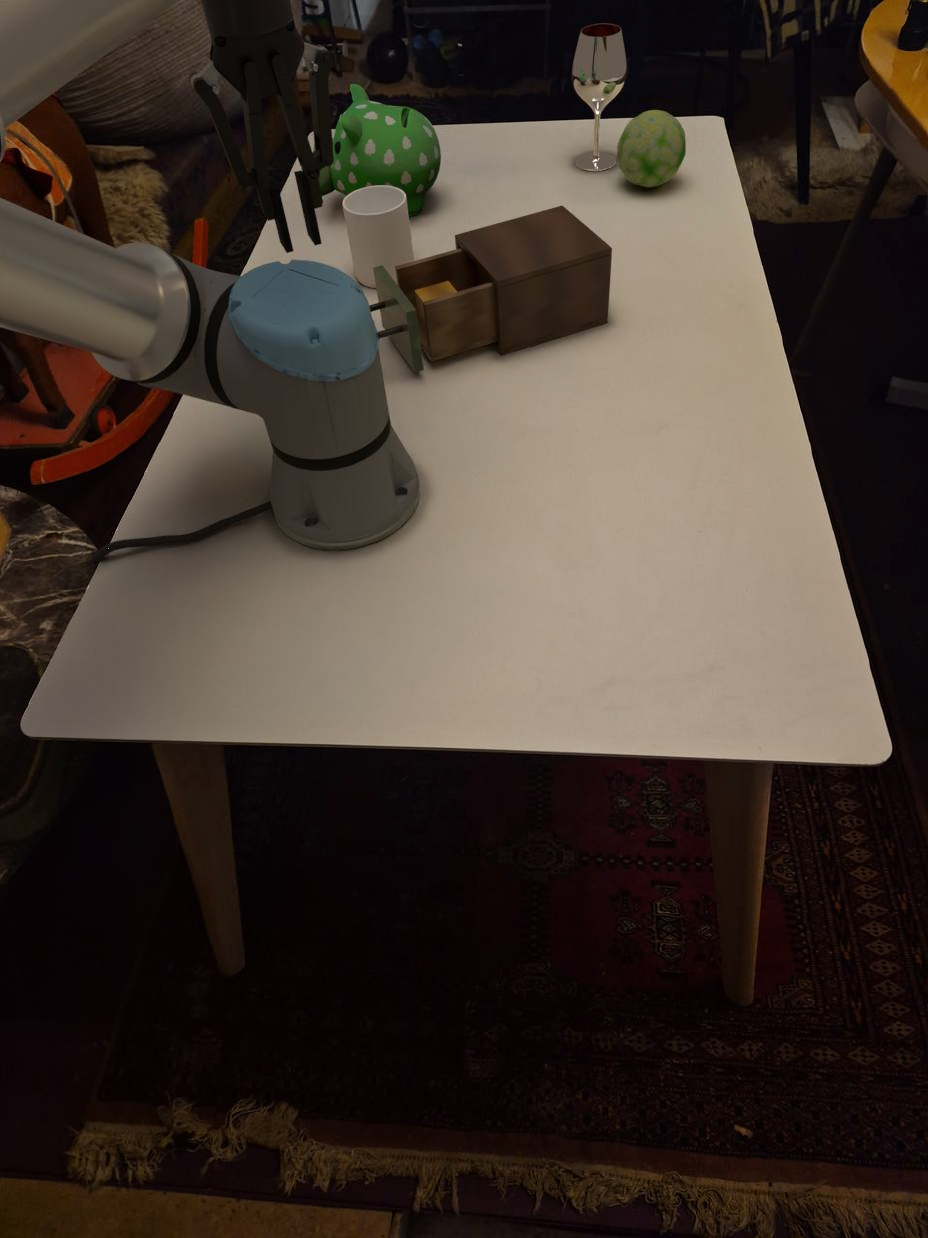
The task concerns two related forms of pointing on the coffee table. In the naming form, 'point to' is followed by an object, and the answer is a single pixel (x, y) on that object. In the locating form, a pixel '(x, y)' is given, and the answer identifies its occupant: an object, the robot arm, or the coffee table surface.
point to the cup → (378, 231)
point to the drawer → (437, 307)
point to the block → (430, 297)
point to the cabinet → (542, 276)
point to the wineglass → (599, 80)
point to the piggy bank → (383, 151)
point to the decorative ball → (651, 148)
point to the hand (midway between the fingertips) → (300, 242)
